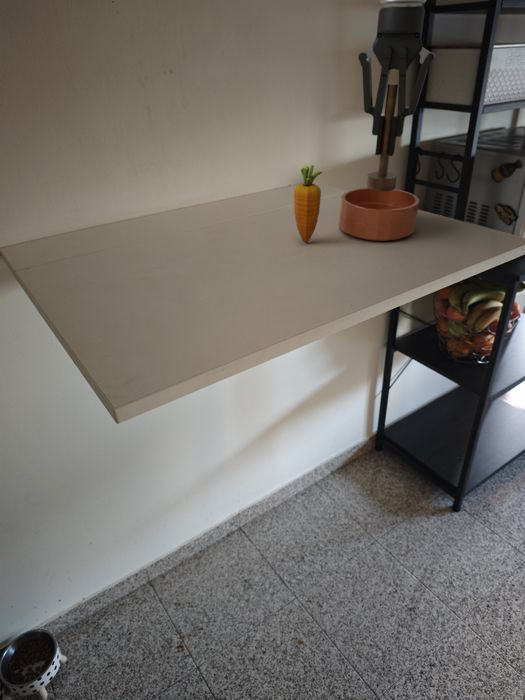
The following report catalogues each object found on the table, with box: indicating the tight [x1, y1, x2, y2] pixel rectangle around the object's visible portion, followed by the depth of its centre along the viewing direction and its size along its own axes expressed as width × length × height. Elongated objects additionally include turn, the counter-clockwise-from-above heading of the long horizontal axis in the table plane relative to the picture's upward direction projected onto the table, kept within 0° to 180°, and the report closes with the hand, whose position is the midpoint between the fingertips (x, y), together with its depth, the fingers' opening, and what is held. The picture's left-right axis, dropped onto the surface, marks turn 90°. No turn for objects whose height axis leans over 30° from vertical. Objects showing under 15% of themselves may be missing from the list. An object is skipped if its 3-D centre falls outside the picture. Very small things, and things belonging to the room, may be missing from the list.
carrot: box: [293, 164, 323, 244], centre depth 94 cm, size 5×5×15 cm
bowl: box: [338, 187, 420, 242], centre depth 103 cm, size 15×15×6 cm
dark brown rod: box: [366, 83, 399, 191], centre depth 95 cm, size 6×6×18 cm
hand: (384, 153), depth 96 cm, fingers closed on dark brown rod, 2 cm apart
